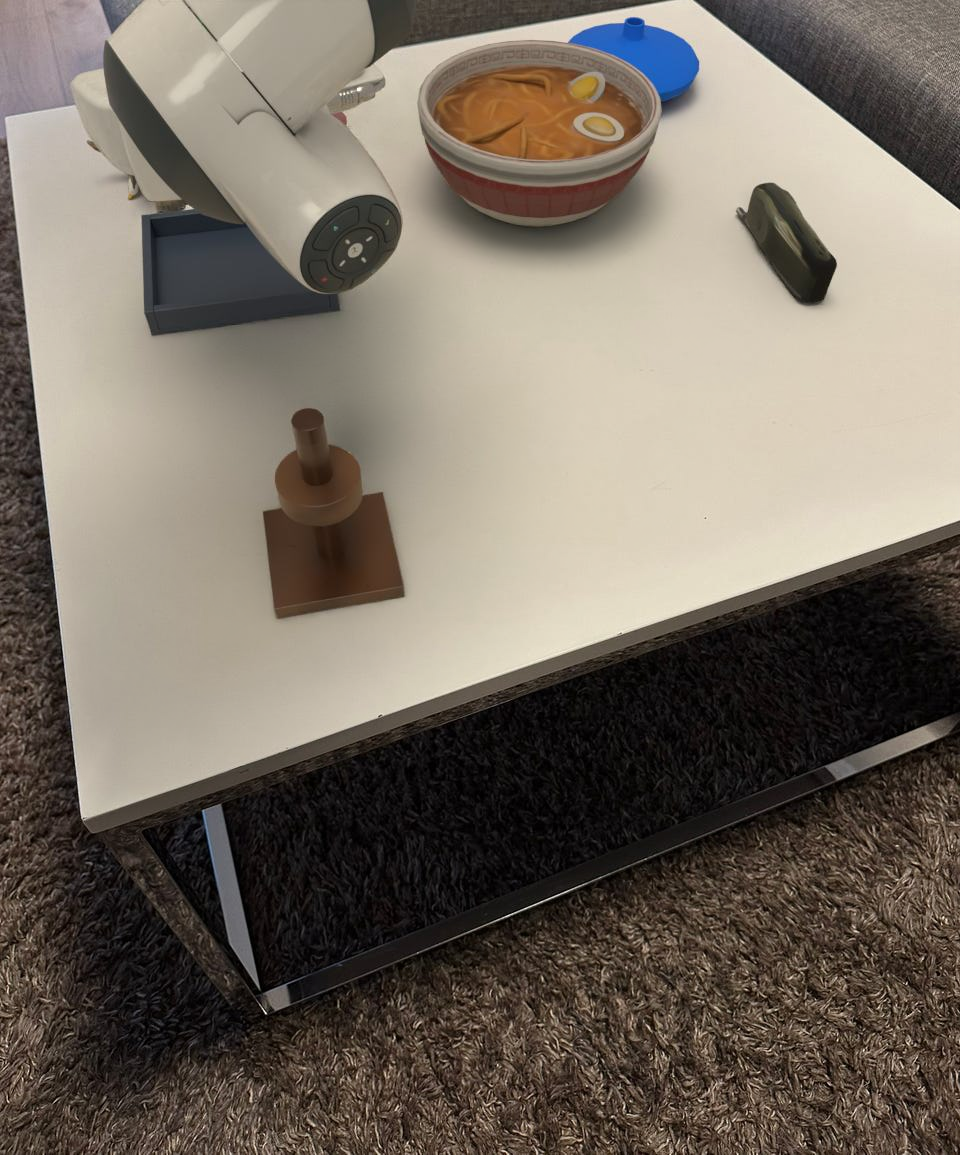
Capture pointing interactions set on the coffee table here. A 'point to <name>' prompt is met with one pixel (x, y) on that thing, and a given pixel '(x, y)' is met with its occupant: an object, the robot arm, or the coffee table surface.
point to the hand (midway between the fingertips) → (190, 39)
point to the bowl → (538, 128)
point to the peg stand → (327, 529)
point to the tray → (215, 276)
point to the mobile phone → (789, 242)
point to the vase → (646, 53)
